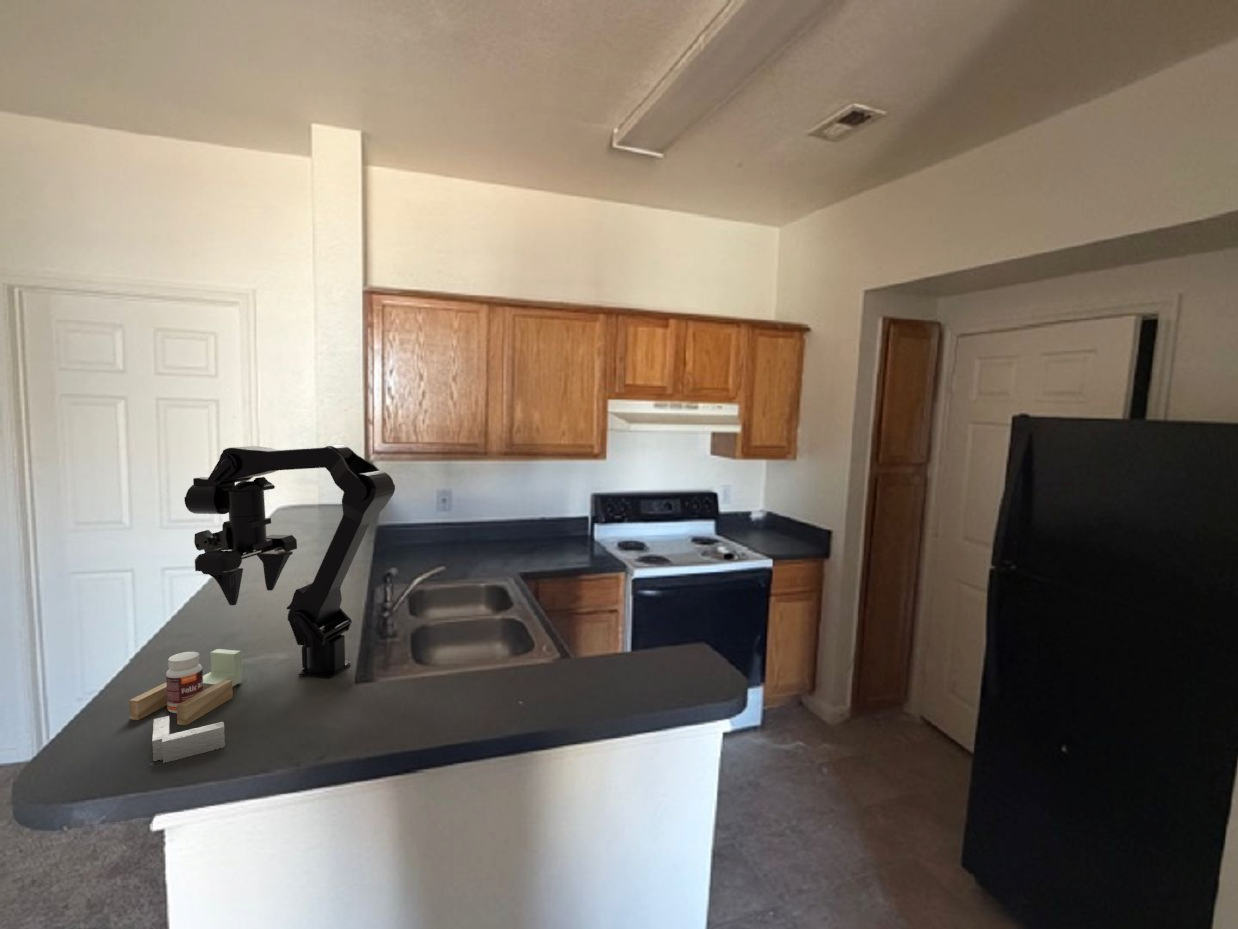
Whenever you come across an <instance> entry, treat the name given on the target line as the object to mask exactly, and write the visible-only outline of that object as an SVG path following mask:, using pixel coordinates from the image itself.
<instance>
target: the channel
mask: <svg viewBox="0 0 1238 929" xmlns="http://www.w3.org/2000/svg"><path fill="white" fill-rule="evenodd" d="M233 691H234V690H233V687H232V680H222V681H220V682H219V683H217V684H215V685H213V686H211V687H209V688H207V689H206V690H204V691H202V692H200V693H198V694H196V695H195V696H193V697H191V698H189V699H187V700H185V701H184V702H182V703H180V704H178V705H177V713H176V718H177V719H176V720H177V725H180V726H182V725H183V726H187V725H189V724H190V723H192V722H194V721H195V720H197V719H199V718H201V717H203V716H205V715H206V714H207V713H209V712H212V710H215V709H216V708H218V707H219V706H221V705H223V704H225V703H227V702H228V701H229V700H232V699H233V697H234V696H233V694H234V693H233ZM128 705H129V720H135V721H136V720H137V721H139V720H142V719H143V718H145V717H146V716H149V715H151V714H153V713H154V712H156V711H159V710H160V709H162V708H164V707H165V706H167V683H166V682H164V683H161V684H159V685H158V686H156V687H154V688H152V689H149V690H147V691H145V692H143V693H141V694H139V695H136V696H135V697H133V698H131V699H129V700H128Z"/></svg>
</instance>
